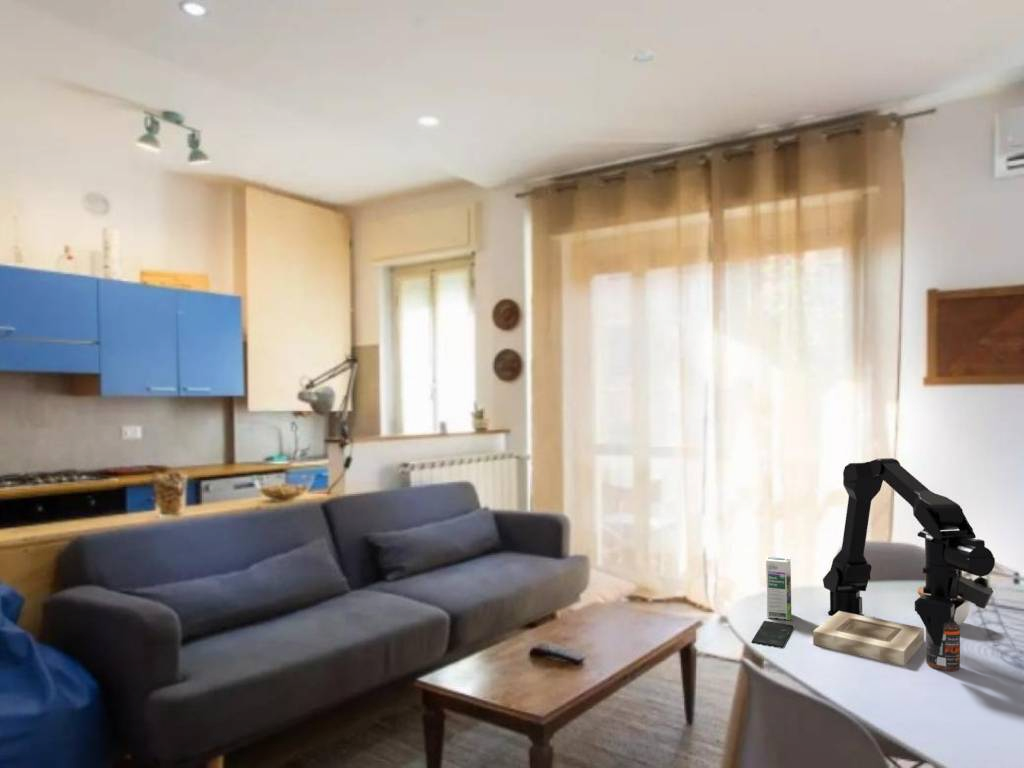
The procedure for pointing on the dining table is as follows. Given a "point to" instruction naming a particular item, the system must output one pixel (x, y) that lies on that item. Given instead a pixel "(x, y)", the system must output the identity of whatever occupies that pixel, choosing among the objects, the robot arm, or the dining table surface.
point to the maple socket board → (869, 637)
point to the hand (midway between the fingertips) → (942, 639)
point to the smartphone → (773, 634)
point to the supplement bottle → (945, 648)
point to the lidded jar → (960, 611)
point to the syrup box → (778, 587)
